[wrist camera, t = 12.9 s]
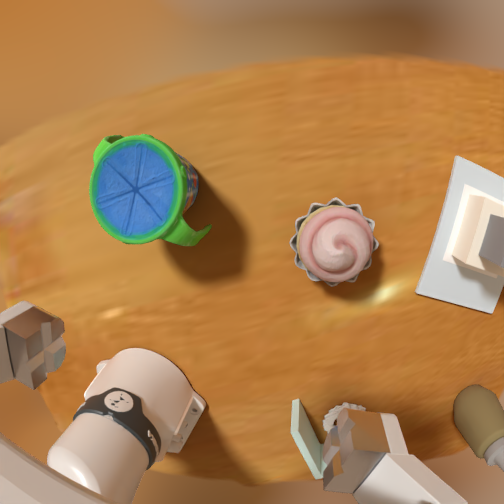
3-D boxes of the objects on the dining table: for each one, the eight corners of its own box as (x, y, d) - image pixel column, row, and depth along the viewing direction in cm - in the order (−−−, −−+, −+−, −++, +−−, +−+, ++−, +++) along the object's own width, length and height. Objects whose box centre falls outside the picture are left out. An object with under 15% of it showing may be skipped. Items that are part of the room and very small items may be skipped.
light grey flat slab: (490, 312, 37) (492, 313, 36) (414, 291, 38) (416, 293, 37) (528, 193, 32) (530, 193, 31) (455, 155, 33) (457, 155, 32)
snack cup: (108, 167, 39) (60, 169, 29) (164, 110, 36) (124, 95, 27) (180, 259, 41) (146, 286, 31) (243, 206, 38) (225, 219, 28)
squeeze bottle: (441, 418, 42) (474, 497, 24) (455, 381, 40) (501, 459, 23) (478, 412, 41) (517, 481, 23) (493, 375, 39) (543, 443, 21)
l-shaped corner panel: (384, 426, 44) (393, 458, 37) (315, 446, 46) (315, 479, 39) (371, 374, 42) (381, 406, 35) (292, 398, 44) (290, 432, 37)
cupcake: (383, 221, 36) (410, 238, 27) (341, 285, 39) (354, 321, 29) (316, 178, 36) (324, 181, 26) (275, 247, 39) (269, 272, 29)
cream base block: (494, 269, 35) (509, 279, 31) (451, 254, 35) (465, 263, 31) (511, 213, 32) (528, 218, 29) (469, 194, 33) (485, 197, 29)
